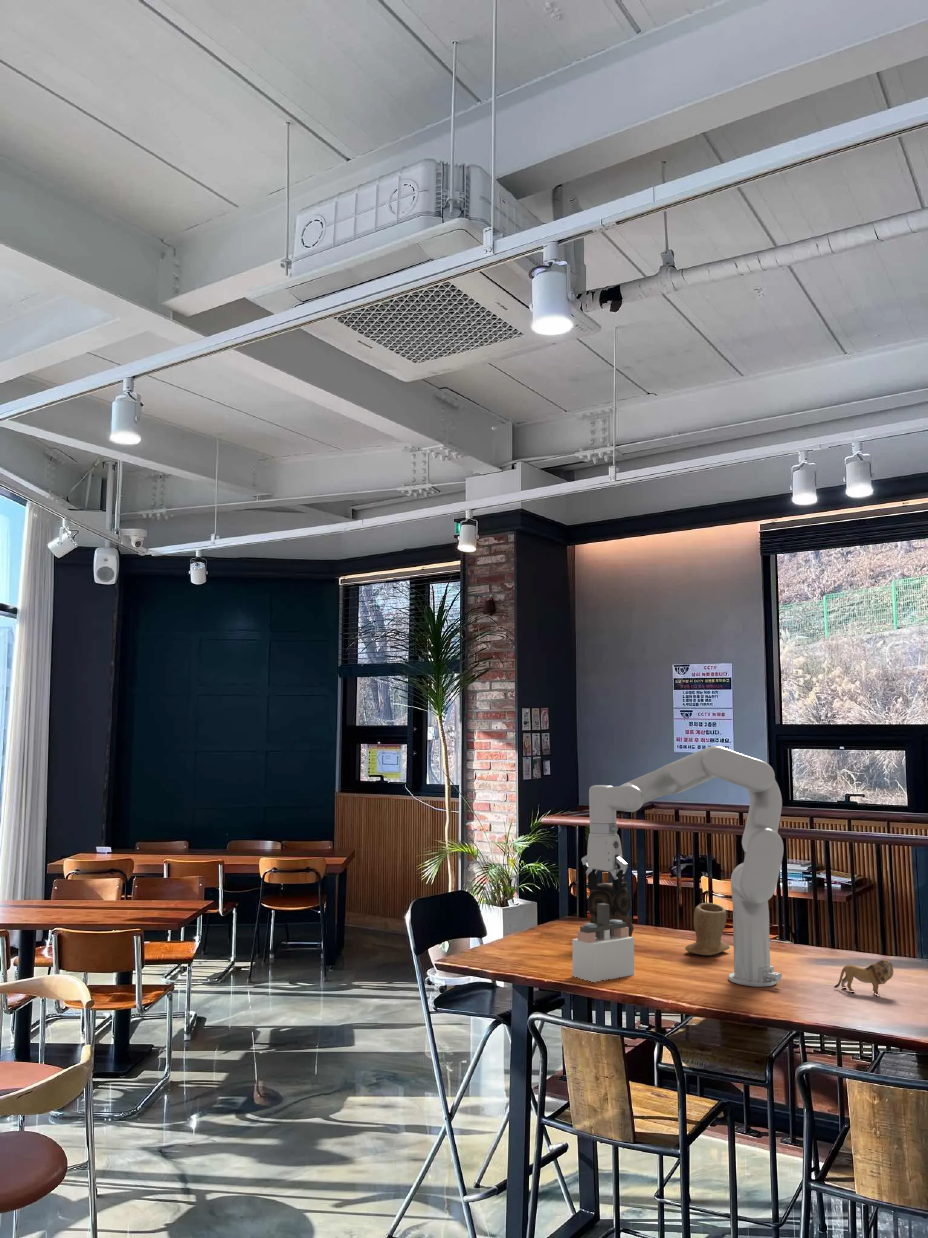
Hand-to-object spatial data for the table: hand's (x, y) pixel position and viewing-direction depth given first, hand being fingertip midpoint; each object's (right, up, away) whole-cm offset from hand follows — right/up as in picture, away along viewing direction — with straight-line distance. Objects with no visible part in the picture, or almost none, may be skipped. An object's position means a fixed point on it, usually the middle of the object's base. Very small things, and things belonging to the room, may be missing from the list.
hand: (604, 891), depth 263 cm
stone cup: (+37, -27, +27) cm, 53 cm away
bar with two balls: (-1, -12, -2) cm, 12 cm away
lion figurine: (+66, -22, -17) cm, 72 cm away
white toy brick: (-1, -23, -3) cm, 23 cm away
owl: (+7, -28, +37) cm, 47 cm away
